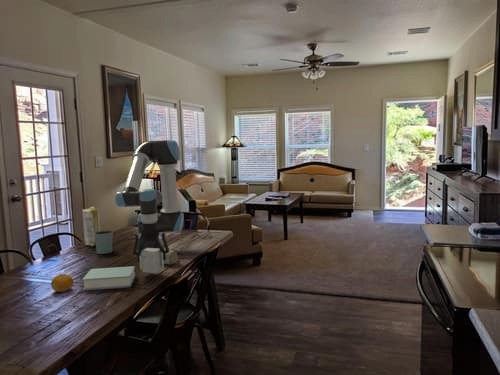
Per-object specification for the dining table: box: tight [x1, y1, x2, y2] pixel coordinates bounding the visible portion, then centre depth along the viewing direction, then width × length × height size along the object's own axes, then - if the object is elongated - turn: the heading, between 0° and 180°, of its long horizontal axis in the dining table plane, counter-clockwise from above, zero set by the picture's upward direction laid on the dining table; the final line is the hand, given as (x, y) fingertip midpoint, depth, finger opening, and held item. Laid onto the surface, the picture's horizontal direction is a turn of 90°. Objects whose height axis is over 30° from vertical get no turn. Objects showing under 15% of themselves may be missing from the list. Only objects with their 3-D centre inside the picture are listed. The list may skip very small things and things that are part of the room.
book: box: [82, 265, 136, 291], centre depth 177 cm, size 14×20×5 cm
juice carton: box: [82, 206, 101, 247], centre depth 246 cm, size 9×8×24 cm
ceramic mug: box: [161, 248, 179, 266], centre depth 204 cm, size 11×8×8 cm
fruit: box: [50, 273, 74, 293], centre depth 169 cm, size 8×8×8 cm
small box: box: [140, 248, 164, 274], centre depth 185 cm, size 8×6×10 cm
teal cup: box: [94, 230, 114, 255], centre depth 228 cm, size 10×10×12 cm
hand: (152, 267), depth 186 cm, fingers closed on small box, 9 cm apart
